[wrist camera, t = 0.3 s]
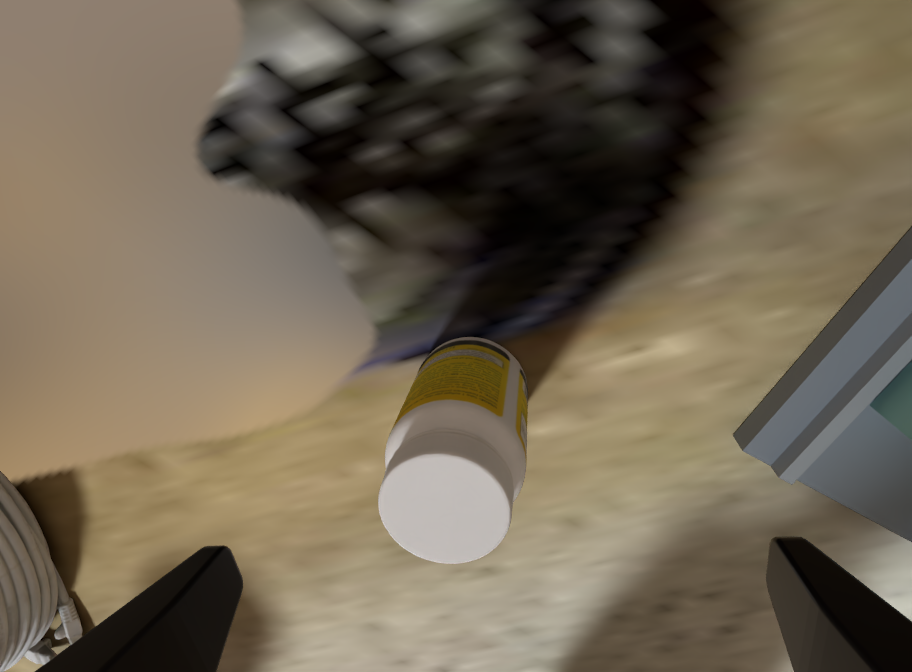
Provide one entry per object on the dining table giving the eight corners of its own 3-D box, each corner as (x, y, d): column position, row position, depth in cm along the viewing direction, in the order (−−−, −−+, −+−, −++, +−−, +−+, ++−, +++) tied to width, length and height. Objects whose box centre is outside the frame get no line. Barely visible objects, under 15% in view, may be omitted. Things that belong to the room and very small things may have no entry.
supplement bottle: (397, 373, 24) (331, 489, 16) (482, 312, 23) (454, 409, 15) (464, 452, 25) (432, 597, 17) (550, 399, 24) (557, 532, 16)
